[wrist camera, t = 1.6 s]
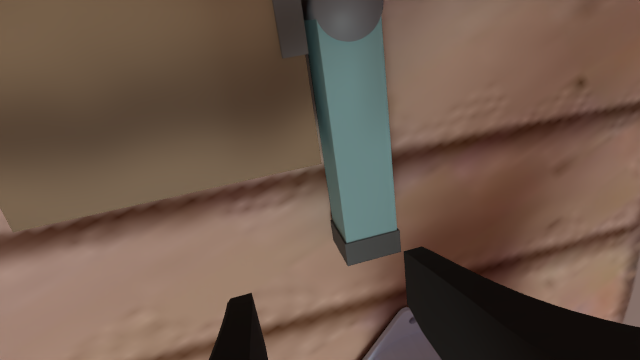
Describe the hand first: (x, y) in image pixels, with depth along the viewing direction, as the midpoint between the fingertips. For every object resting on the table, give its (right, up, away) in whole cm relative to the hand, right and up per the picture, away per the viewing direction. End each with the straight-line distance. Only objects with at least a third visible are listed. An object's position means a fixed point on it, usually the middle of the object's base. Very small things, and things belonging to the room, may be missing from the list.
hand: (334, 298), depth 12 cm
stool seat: (-2, +9, +5) cm, 11 cm away
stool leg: (+1, +6, +7) cm, 9 cm away
